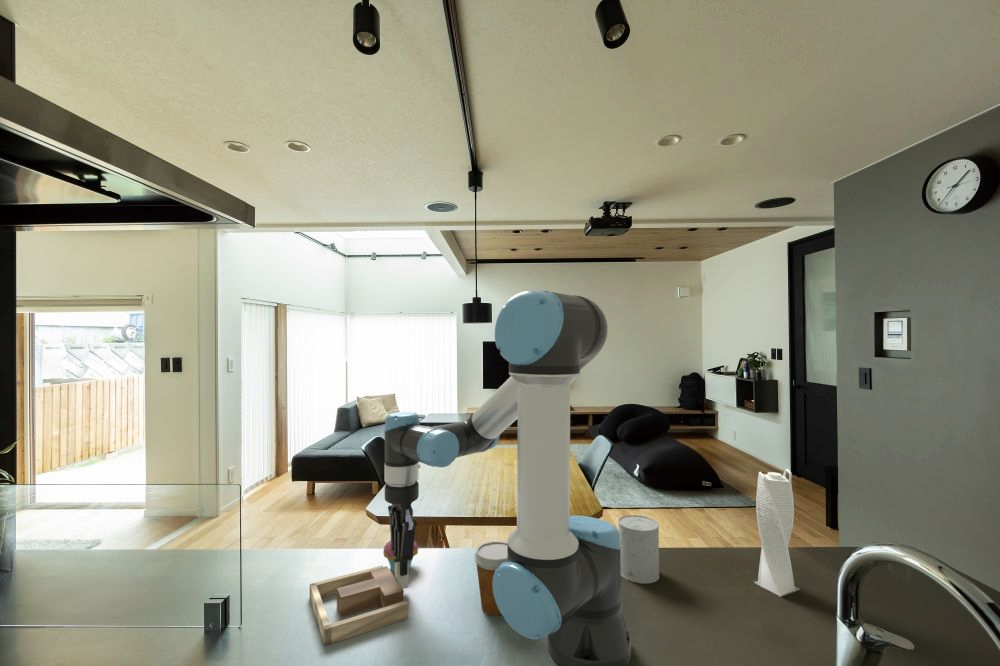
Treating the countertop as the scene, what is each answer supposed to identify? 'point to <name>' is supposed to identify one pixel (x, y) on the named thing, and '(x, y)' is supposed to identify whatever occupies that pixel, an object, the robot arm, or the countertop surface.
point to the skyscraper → (775, 532)
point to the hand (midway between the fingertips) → (401, 587)
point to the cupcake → (390, 554)
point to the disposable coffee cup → (489, 572)
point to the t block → (370, 593)
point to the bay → (353, 624)
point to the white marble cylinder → (639, 548)
